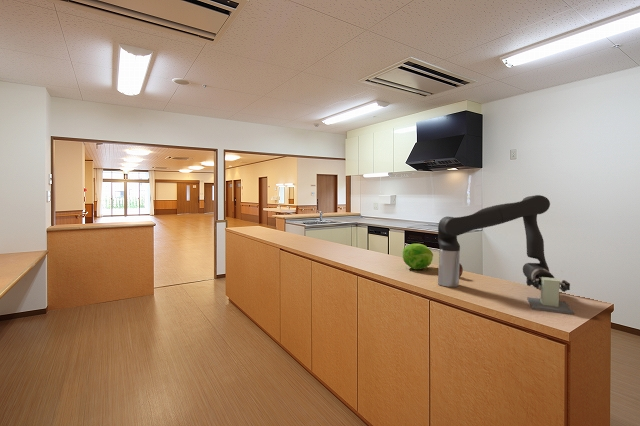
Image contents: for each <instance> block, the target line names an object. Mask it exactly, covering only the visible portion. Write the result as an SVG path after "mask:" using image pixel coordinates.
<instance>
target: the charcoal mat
mask: <svg viewBox="0 0 640 426" xmlns="http://www.w3.org/2000/svg"><path fill="white" fill-rule="evenodd" d="M526 300H527V301H528V304H529V306H530V307H531V309H532V310H537V311H538V310H539V311H543V312H544V311H545V312H552V313H558V314H559V313H560V314H568V315H574V314H575V311H574V310H573V309H572V308H571V307H570V306H569V305H568V303H567V302H566V301H563V300H559V303H558V307H555V306H547V305H543V304H542V303H541V301H540V298H538V297H530V296H528V297H526Z"/></svg>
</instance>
